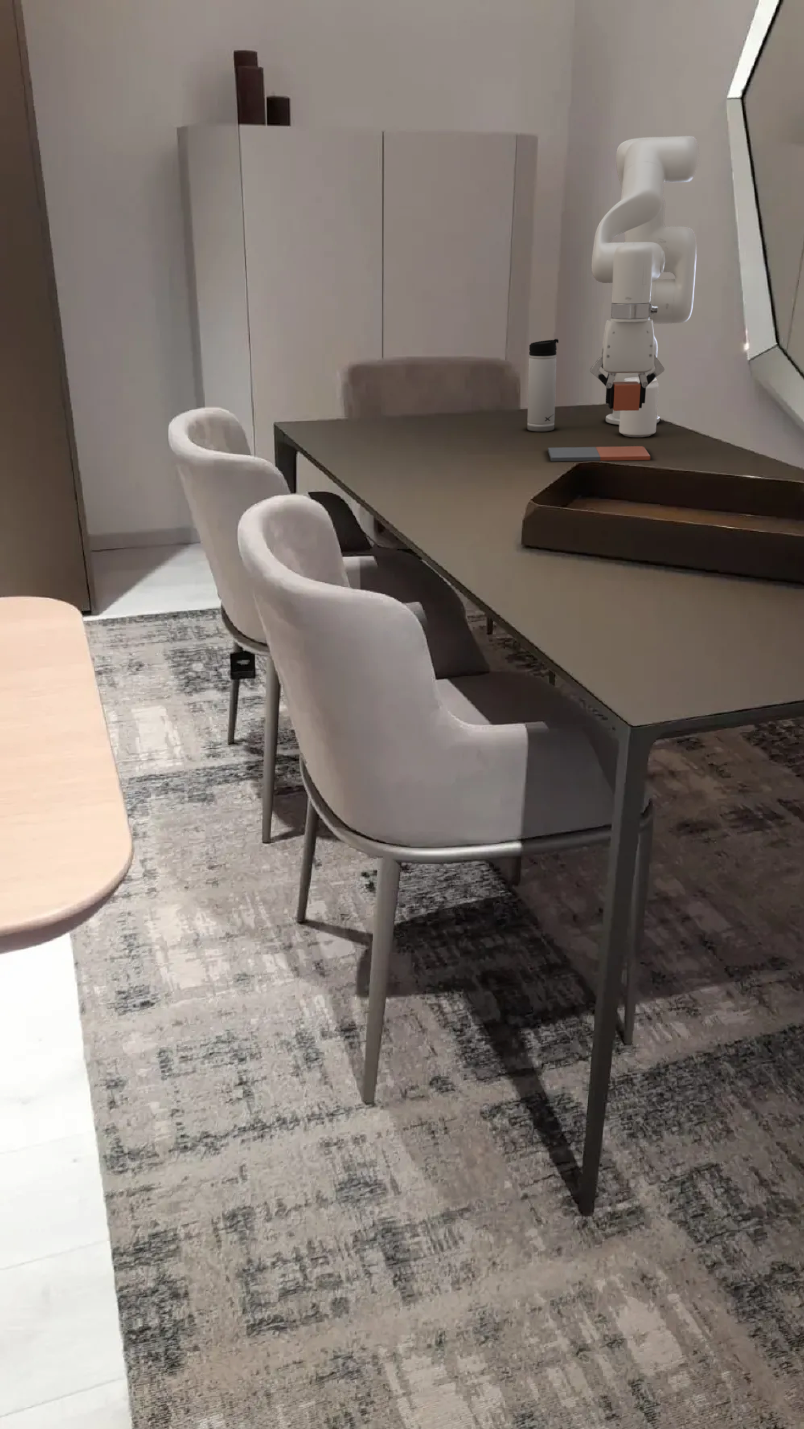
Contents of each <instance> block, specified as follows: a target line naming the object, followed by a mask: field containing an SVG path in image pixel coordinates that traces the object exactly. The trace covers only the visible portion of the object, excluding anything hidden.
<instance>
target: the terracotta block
mask: <svg viewBox="0 0 804 1429" xmlns="http://www.w3.org/2000/svg"><path fill="white" fill-rule="evenodd" d="M613 388H614V406H613V408H612V411H613V410H614V411H635V410H639V401H640V384H639V383H638V382H637V381H631V382H613Z"/></svg>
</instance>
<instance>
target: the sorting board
mask: <svg viewBox="0 0 804 1429" xmlns="http://www.w3.org/2000/svg"><path fill="white" fill-rule="evenodd" d="M547 453H548V455H549V460H550V462H597V461H598V462H599V461H600V462H601V461H602V462H603V461H605V462H606V461H608V462H609V461H651V455H650V454H649V452H648V450H647V449H646V447H645V446H644V445H639V446H638V445H636V446H635V445H633V446H631V445H629V446H627V445H626V446H576V447H575V446H569V447H565V446H564V447H563V446H562V447H548V448H547Z"/></svg>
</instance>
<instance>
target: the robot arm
mask: <svg viewBox="0 0 804 1429" xmlns="http://www.w3.org/2000/svg"><path fill="white" fill-rule="evenodd" d="M699 161H700V146H699V142H698V140H697V138H696V137H695V136H693V135H678V136H676V135H675V136H646V137H645V136H644V137H636V138H635V137H634V138H629V139H627V140H625V141H622V142H621V143H619V145H618V146H617V149H616V153H615V165H616V171H617V177H618V180H619V184H620V187H621V193H620V200H619V201H618V202H616V203H615V204H614V205H613V206H612V207H610V209H609V210H608V212H606V213H605V215H604V216H603V217H602V218H601V220H600V221H599V223H598V225H597V227H596V230H595V233H594V238H593V248H592V252H591V273H592V276H593V278H594V279H595V280H596V281H597V282H599V283H602V284H611V287H612V288H611V304H610V319H607V320H606V321H605V324H604V331H603V335H602V345H601V355H600V356H599V357H598V359H596V361H595V362H594V363H593V364H592V366H591V367H590V369H589V372H590V373H591V374H592V375H593V376H594V377H596V378H597V379H598V380H599V381H600V383H602V384H603V385H604V386H605V405H608V406H607V407H608V408H609V409H610V410H611V409H612V408H613V406H614V388H613V382H624V379H626V378H632V377H639V381H640V383H639V384H640V401H639V408H642V403H645V395H646V387H647V386H648V385H649V384H650V383H651V382H652V381H653V380H654V379H657V377H658V376H659V375H661V374H662V373H664V372H665V367H664V365H663V364H662V363H661V361H660V360H659V359H658V352H659V351H658V350H659V345H658V344H659V343H658V341H657V338H656V336H655V330H654V324H655V325H657V324H658V325H660V324H661V325H663V324H669V325H671V324H682V323H685V322H688V321H689V319H690V318H691V316H692V313H693V308H694V299H695V284H696V270H697V256H698V255H697V254H698V242H697V235H696V233H695V231H694V229H692V227H689V226H683V225H672V226H671V225H669V226H668V225H666V224H665V217H666V200H665V198H664V188H665V183H689V182H691V181H692V180H693V179H694V177H695V176H696V173H697V169H698V166H699ZM623 233H624V241H623V242H622V241H621V242H619V241H618V242H617V241H615V242H612V240H614V239H615V238H616V237H618V236H620V235H621V234H623ZM663 273H670V274H673V275H674V278H660V277H661V275H662V274H663ZM600 368H601V369H602V370H603V371H604V372H606V373H607V375H606V376H605V375H604V373H602V372H601V371H600ZM660 418H661V417H660V416H659V415H658V414H657V422H656V424H658V423H659V422H660ZM605 422H606V423H607V424H612V425H616V426H617V425H618V426H619V424H620V411H614V410H613V409H612V413H609V414H606V416H605Z"/></svg>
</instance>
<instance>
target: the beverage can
mask: <svg viewBox="0 0 804 1429" xmlns="http://www.w3.org/2000/svg"><path fill="white" fill-rule="evenodd" d="M631 381H637V382H638V383H640V381H639V377H632V378H626V379H624V382H631ZM659 391H660V384H659V383H658V378H656V379H654V380H653V381H652V382H651V383H650V384H649V385H648V386H647V387H646V395H645V403H642V408H639V410H635V411H620V424H619V425H618V432H619V433H620V434H622V435H623V436H624V437H628V438H629V437H630V438H645V437H646V438H647V437H650V436H652V435H654V434H656V432H657V423H656V422H657V415H658V408H659V407H658V405H659V394H660V393H659Z"/></svg>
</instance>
